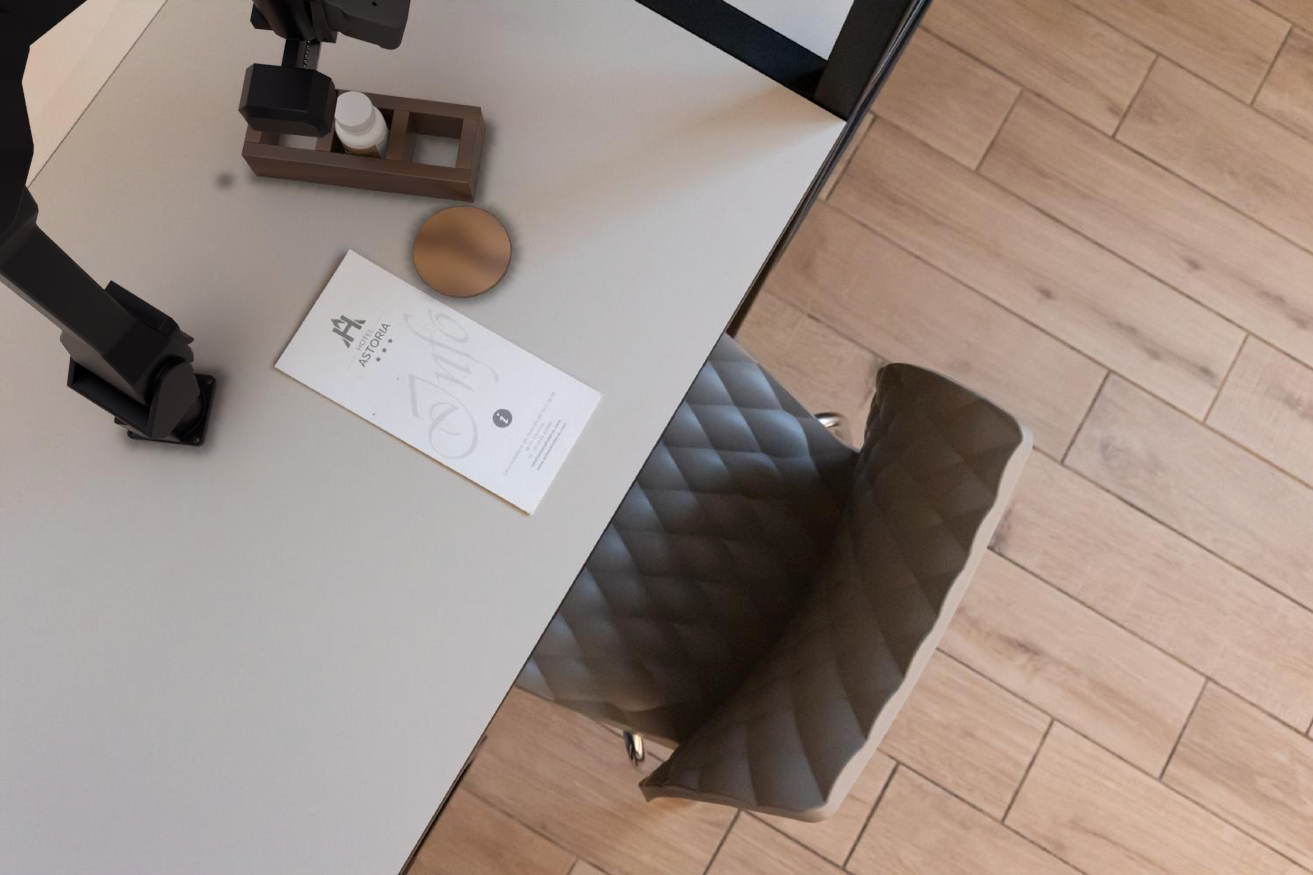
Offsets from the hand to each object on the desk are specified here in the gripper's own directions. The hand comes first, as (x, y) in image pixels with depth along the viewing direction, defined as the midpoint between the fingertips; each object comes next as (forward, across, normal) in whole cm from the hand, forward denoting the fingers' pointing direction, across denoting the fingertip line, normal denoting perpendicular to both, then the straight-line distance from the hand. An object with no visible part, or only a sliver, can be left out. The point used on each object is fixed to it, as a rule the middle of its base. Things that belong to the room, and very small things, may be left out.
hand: (335, 75), depth 82 cm
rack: (+12, 0, 0) cm, 13 cm away
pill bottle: (+13, 0, 0) cm, 13 cm away
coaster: (+12, -10, -10) cm, 19 cm away
